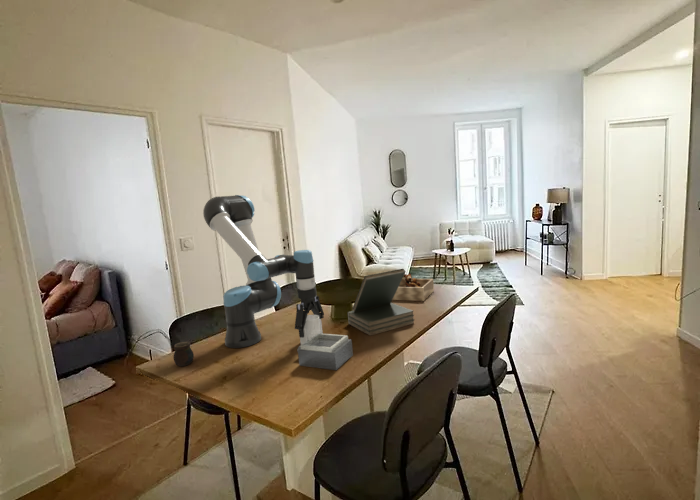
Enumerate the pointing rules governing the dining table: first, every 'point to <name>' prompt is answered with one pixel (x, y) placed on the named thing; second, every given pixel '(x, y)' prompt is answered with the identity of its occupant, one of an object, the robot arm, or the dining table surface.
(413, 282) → the bear figurine
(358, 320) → the book stack
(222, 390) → the dining table surface
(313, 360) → the grey open box
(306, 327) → the white cup
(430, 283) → the bear crate
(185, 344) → the mate gourd
